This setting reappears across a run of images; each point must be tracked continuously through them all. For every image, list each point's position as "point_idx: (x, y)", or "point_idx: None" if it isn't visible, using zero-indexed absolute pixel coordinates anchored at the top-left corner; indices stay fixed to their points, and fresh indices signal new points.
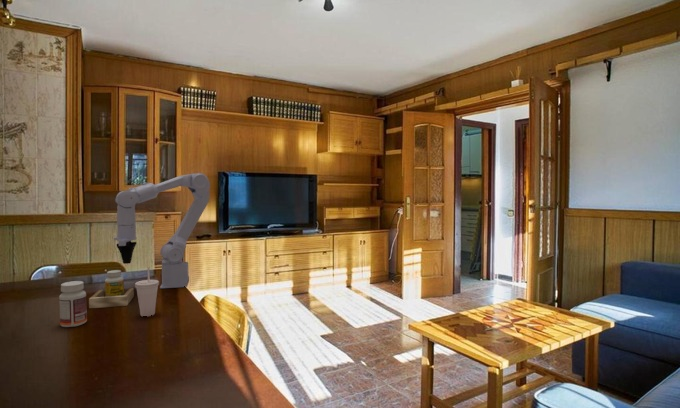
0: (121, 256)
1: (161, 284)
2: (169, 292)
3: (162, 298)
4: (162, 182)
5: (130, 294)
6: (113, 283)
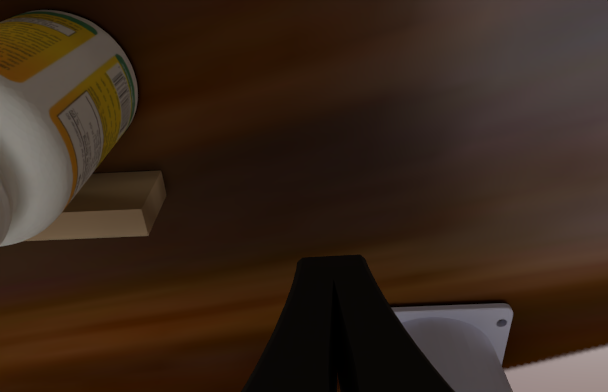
0: (274, 338)
1: (440, 312)
2: (248, 365)
3: (111, 353)
4: None
5: None
6: None
